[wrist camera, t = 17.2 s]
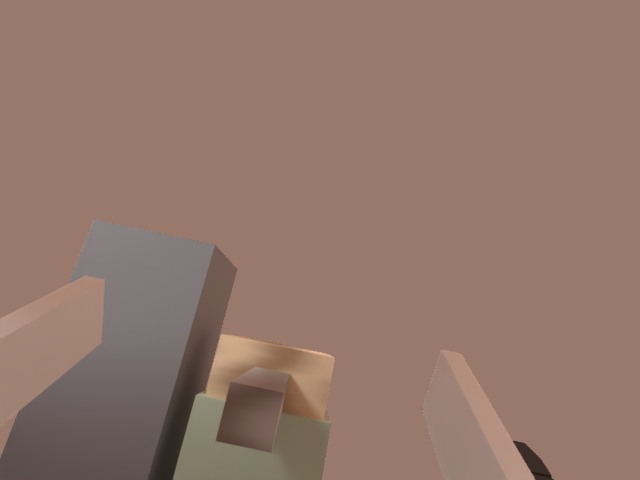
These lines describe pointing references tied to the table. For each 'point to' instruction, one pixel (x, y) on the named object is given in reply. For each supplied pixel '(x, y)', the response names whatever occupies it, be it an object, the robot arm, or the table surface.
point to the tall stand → (129, 363)
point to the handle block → (265, 388)
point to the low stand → (249, 464)
